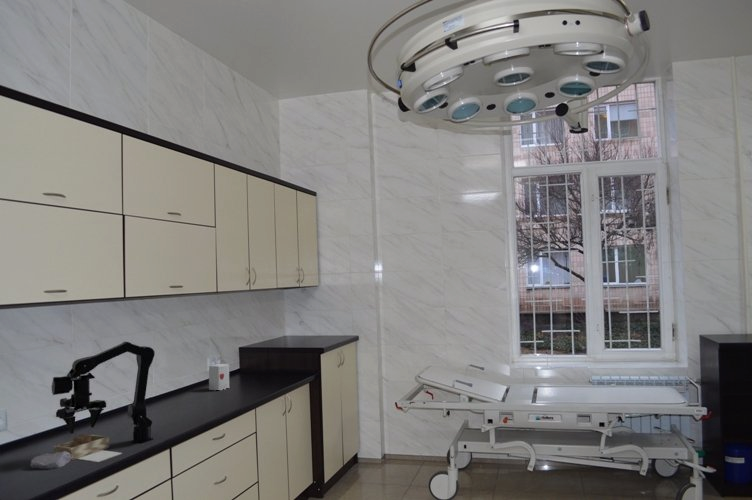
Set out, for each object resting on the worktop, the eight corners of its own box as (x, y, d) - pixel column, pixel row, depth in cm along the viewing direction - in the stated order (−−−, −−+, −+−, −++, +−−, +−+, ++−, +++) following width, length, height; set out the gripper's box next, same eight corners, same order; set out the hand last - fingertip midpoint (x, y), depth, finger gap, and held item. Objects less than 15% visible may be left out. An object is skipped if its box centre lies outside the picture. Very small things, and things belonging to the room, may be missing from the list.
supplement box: (218, 391, 348) (218, 366, 349) (208, 390, 353) (208, 365, 354) (230, 388, 356) (229, 364, 357) (220, 387, 361) (219, 363, 362)
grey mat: (102, 451, 230) (102, 450, 230) (122, 453, 225) (122, 452, 225) (77, 459, 220) (77, 458, 220) (97, 462, 215) (97, 461, 215)
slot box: (92, 445, 238) (92, 434, 238) (109, 447, 234) (109, 436, 234) (54, 458, 223) (53, 446, 223) (71, 460, 218) (71, 448, 218)
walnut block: (82, 444, 231) (82, 434, 231) (90, 445, 229) (90, 435, 229) (73, 447, 227) (73, 437, 228) (82, 448, 225) (81, 438, 226)
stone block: (59, 473, 210) (73, 459, 219) (57, 461, 209) (71, 448, 219) (27, 476, 209) (42, 462, 219) (25, 464, 209) (40, 450, 219)
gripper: (88, 385, 241) (88, 423, 240) (46, 394, 224) (46, 435, 224) (106, 386, 236) (107, 425, 236) (65, 396, 220) (66, 437, 219)
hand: (82, 430), depth 229 cm, fingers open, 9 cm apart
